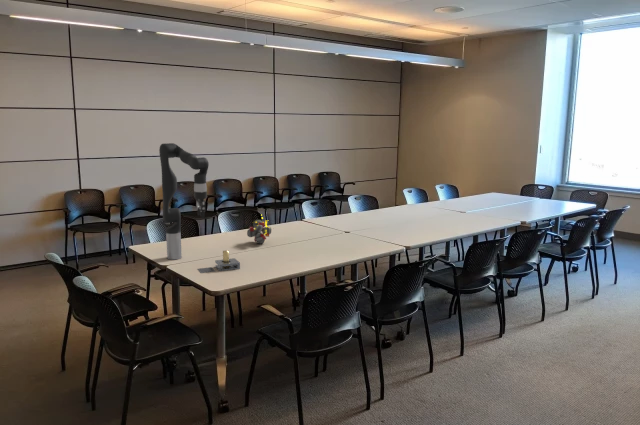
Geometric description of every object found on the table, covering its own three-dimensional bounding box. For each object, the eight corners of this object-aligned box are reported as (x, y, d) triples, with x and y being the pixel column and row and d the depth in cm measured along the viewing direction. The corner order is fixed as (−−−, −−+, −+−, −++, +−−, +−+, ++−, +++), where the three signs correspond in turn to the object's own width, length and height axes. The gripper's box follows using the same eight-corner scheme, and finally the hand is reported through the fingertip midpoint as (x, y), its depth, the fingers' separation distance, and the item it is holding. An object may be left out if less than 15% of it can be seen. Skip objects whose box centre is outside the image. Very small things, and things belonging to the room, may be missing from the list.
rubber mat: (196, 269, 307) (196, 268, 307) (211, 267, 311) (211, 267, 311) (200, 273, 299) (200, 273, 298) (215, 272, 302) (215, 271, 302)
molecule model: (276, 246, 365) (276, 216, 361) (247, 248, 360) (247, 217, 356) (271, 239, 389) (271, 210, 385) (244, 240, 384) (243, 211, 380)
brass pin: (222, 267, 311) (222, 250, 309) (228, 267, 313) (227, 250, 311) (224, 269, 308) (223, 252, 306) (229, 268, 310) (229, 251, 308)
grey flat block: (215, 267, 313) (215, 260, 312) (234, 264, 318) (234, 258, 317) (219, 271, 303) (219, 264, 302) (240, 269, 308) (239, 262, 308)
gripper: (191, 189, 310) (192, 215, 313) (196, 192, 297) (197, 219, 300) (203, 188, 313) (204, 214, 316) (209, 191, 301) (210, 218, 304)
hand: (201, 216), depth 308 cm, fingers open, 8 cm apart
